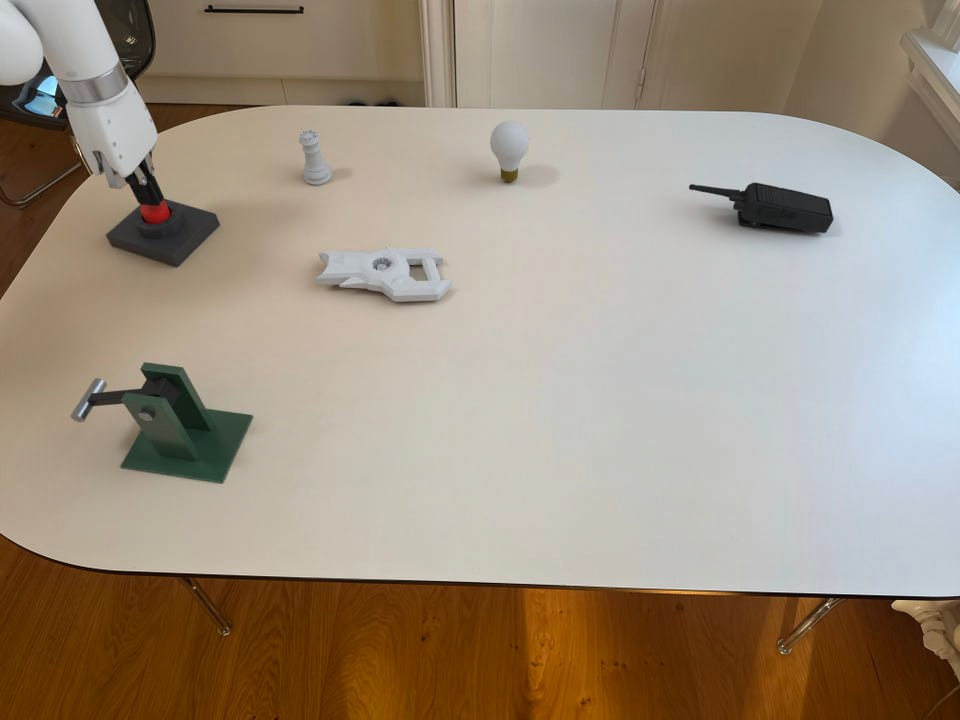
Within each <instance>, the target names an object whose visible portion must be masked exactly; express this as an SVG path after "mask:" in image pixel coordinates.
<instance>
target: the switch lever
mask: <svg viewBox="0 0 960 720" xmlns="http://www.w3.org/2000/svg"><path fill="white" fill-rule="evenodd" d="M107 386H108V383H107V382H106V381H105V380H104V379H101V378H99V377H97V378H94V379H93V380H92V381H91V383H90V385H89V386H88V388H87V390H86V391H85V392H84V394H83V395H82V397H81V398H80V400H79V402H78V403H77V404H76V406H75V407H74V409H73V410H72V412H71V413H70V415H69V416H70V418H71V419H72V420H73V421H75V422H77V423H84V422H85V421H86V419H87V417H89V415H90V413H91V411H92V410H93V408H94V407H100V406H101V407H102V406H112V405H124V404H123V402H122V401H121V399H122V397H123V396H124V394H125V393H133V394H140V395H147V396H154V397H161V398H166V399H167V401H168V403H169V404H170V406H171V408H172V407H173V405H174V403H175V401H176V400H177V398H178V396H179V394H180V392H181V391H180V390H179V389H178V388H177V387H176V386H175V385H174V384H173V383H172V382H171V381H170V380H169V379H168V378H158V379H148V380H146V379H145V381H144V383H143V385H142V386H141V388H132V389H121V390H111V391H105V390H106V388H107Z"/></svg>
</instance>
